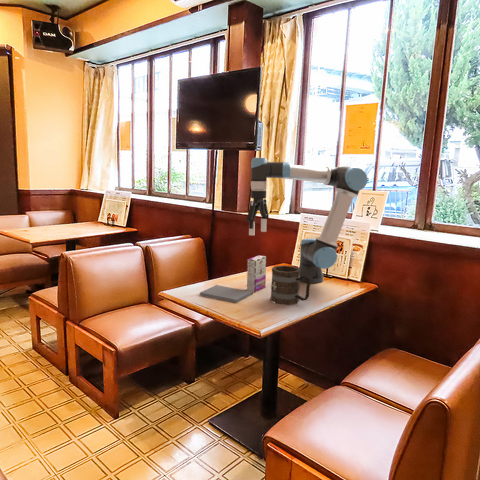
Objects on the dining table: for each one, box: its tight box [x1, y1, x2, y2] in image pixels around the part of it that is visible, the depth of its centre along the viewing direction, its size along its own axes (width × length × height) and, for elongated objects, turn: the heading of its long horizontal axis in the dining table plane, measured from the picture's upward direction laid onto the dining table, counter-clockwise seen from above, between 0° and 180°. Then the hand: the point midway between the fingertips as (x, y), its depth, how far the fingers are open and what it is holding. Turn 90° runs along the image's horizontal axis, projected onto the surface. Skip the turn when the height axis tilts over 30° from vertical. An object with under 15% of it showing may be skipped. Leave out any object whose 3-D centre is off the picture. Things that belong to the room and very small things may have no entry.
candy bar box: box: [246, 255, 267, 293], centre depth 204 cm, size 11×5×16 cm, turn 148°
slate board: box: [199, 284, 253, 304], centre depth 194 cm, size 20×15×2 cm
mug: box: [270, 265, 312, 306], centre depth 186 cm, size 20×14×15 cm
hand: (257, 233), depth 200 cm, fingers open, 13 cm apart
